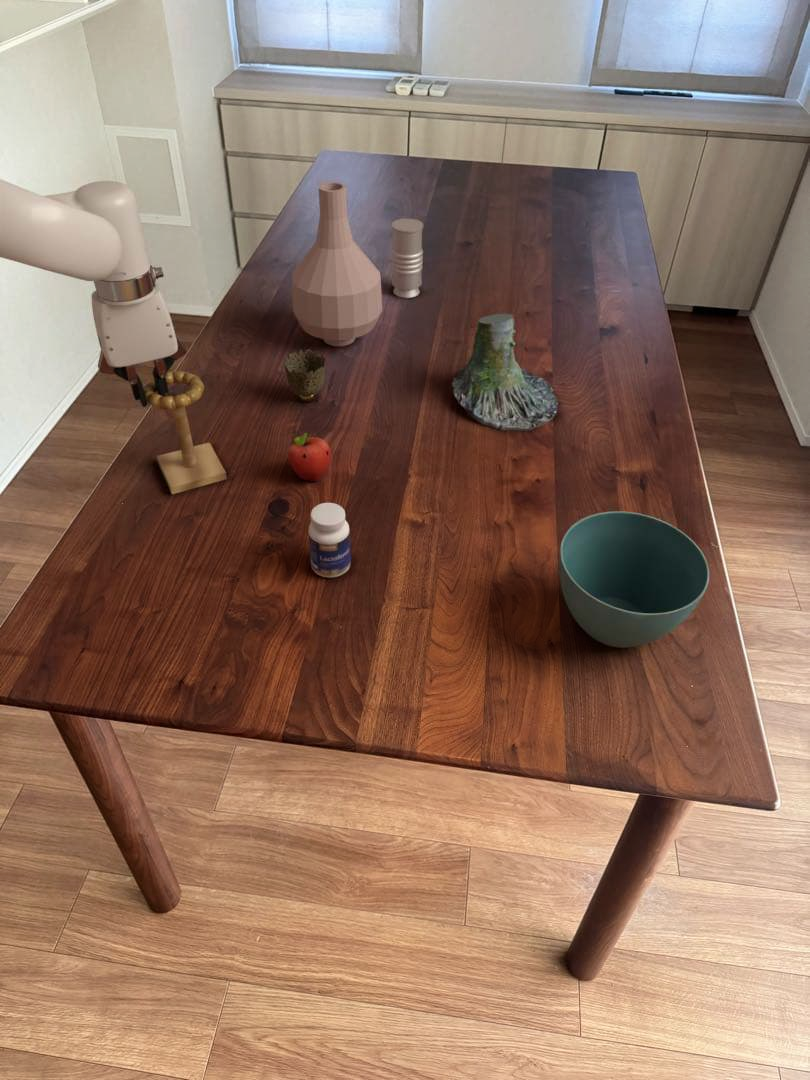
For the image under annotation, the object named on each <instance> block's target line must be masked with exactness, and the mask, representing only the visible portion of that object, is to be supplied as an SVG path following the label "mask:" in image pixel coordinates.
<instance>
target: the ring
mask: <svg viewBox="0 0 810 1080" xmlns="http://www.w3.org/2000/svg"><path fill="white" fill-rule="evenodd" d="M166 381H167V386H169V385H173V384H183V385H186V386H189V387H190V389H189V390H187V391H186V392H184V393H181V394H178V395H173V396H171V395H165V396H161V395H158V393H157V389H156V386H155V382H154V377H153V376H152V377H151V378H150V379H148V380H147V381H146V382H145V385H143V388H144V392H145V397H146V401H147V404H149V405H151V406H153V407H154V408H155V407H156V408H157V409H167V410H172V409H177V408H181V407H185V408H186V407H188V406H191V405H192V404H194V403H195V402H197V401H199V400H200V399H201V398H202V395H203V393H204V391H205V385H204V383H203V381H202V380H201V378H200V377H199V376H198V375H195V374H193V373H190V372H188V371H179V370H178V371H177V370H172V371H168V372H167V376H166Z"/></svg>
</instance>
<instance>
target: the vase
mask: <svg viewBox="0 0 810 1080" xmlns="http://www.w3.org/2000/svg"><path fill="white" fill-rule="evenodd" d="M318 203H319V204H318V205H319V220H318V226H317V234H316V241H315V242H314V244H313V245H312V246H311V248H309V250H308V251H307V253H306V254H305V256H304V257H303V258H302V259H301V261H300V262H299V264H298V265H297V266H296V268H294V270H293V272H292V273H291V291H292V292H291V293H292V295H291V296H292V312H293V314H294V316H295V318H296V320H297V322H298V324H299V325H300V327H301V328H302V330H303V331H304V332H305V333H307V334H309V335H310V336H312V337H313V338H318V339H321V340H323V342H324V343H325V344H326V345H329V346H333V347H344V346H345V347H346V346H348V345H351V344H352V343H354V342H355V340H356V339H358V338H360V337H363V336H365V335H366V334H368V333H370V332H371V331H373V329H374V328H375V326H376V325H377V322H378V320H379V318H380V316H381V314H382V312H383V295H382V294H383V293H382V278H381V271H380V270H379V269H378V268H377V267H376V265H374V264H373V262H372V261H371V260H370V259H369V257H368V256H367V255H366V254H365V252H364V251H363V250H362V249H361V248H360V246H359V245H358V244H357V243H356V242H355V241H354V238H353V234H352V231H351V226H350V222H349V217H348V207H347V186H346V184H345V183H343V182H338V181H326V182H322V183H320V184H318Z"/></svg>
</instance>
